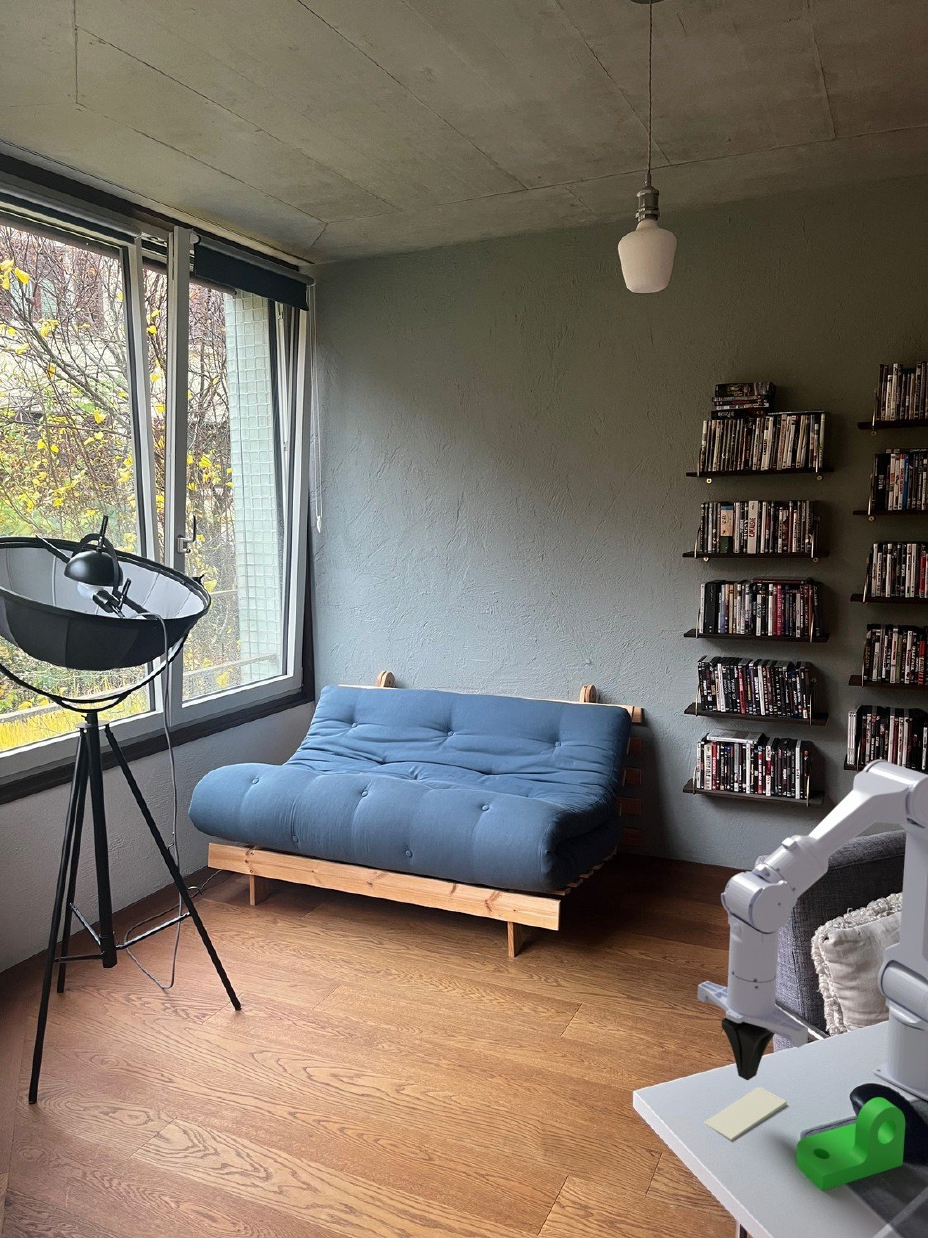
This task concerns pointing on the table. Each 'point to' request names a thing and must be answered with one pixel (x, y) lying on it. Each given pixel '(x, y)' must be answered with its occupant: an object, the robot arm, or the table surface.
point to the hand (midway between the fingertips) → (747, 1075)
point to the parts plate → (745, 1113)
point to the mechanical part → (855, 1147)
